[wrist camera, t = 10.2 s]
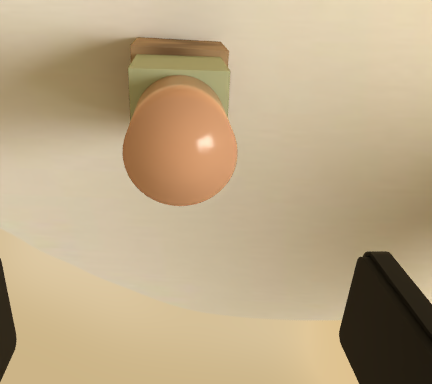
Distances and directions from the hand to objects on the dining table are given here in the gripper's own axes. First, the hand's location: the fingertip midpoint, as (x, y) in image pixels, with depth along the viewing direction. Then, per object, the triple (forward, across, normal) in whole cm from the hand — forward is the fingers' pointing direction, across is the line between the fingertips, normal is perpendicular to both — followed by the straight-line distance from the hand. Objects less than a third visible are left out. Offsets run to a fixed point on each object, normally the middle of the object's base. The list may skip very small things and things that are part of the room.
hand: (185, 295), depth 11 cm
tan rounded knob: (+16, 0, 0) cm, 16 cm away
